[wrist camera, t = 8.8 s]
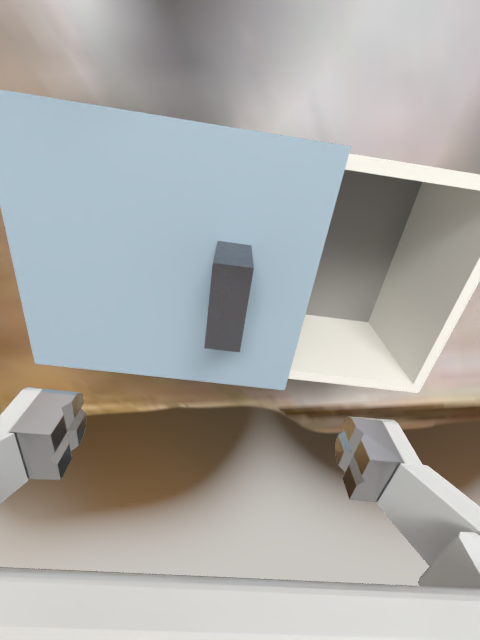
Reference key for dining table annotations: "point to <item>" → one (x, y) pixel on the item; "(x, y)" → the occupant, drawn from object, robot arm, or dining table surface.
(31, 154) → the lid
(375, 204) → the carton
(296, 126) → the dining table surface
